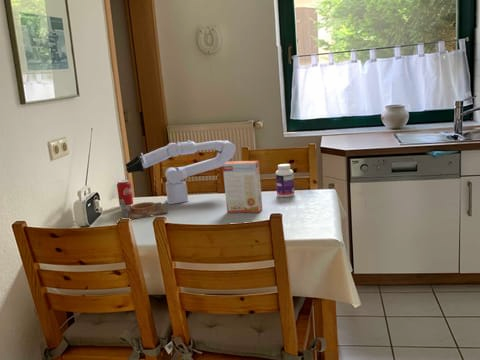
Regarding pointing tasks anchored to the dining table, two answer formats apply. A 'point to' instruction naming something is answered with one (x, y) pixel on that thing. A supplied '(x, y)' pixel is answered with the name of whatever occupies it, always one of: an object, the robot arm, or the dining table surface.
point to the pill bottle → (284, 181)
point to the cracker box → (242, 186)
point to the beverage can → (125, 192)
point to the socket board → (142, 209)
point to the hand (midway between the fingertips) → (126, 168)
